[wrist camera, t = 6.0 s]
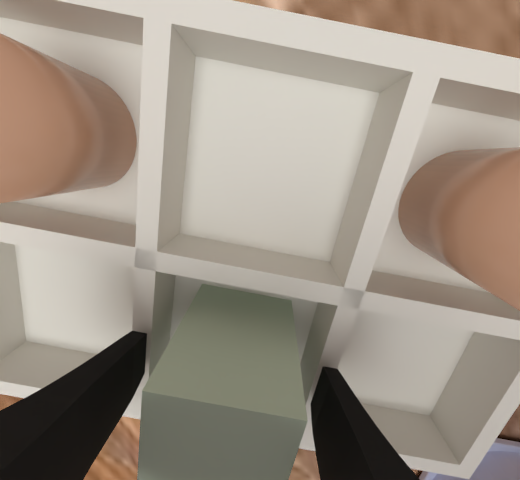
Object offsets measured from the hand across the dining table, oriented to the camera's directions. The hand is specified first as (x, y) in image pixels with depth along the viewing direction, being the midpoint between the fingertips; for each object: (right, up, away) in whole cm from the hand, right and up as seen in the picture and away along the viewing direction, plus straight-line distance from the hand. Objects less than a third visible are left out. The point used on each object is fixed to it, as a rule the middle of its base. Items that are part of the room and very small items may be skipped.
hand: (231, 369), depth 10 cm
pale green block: (0, +1, +3) cm, 3 cm away
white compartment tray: (+1, +5, +2) cm, 5 cm away
